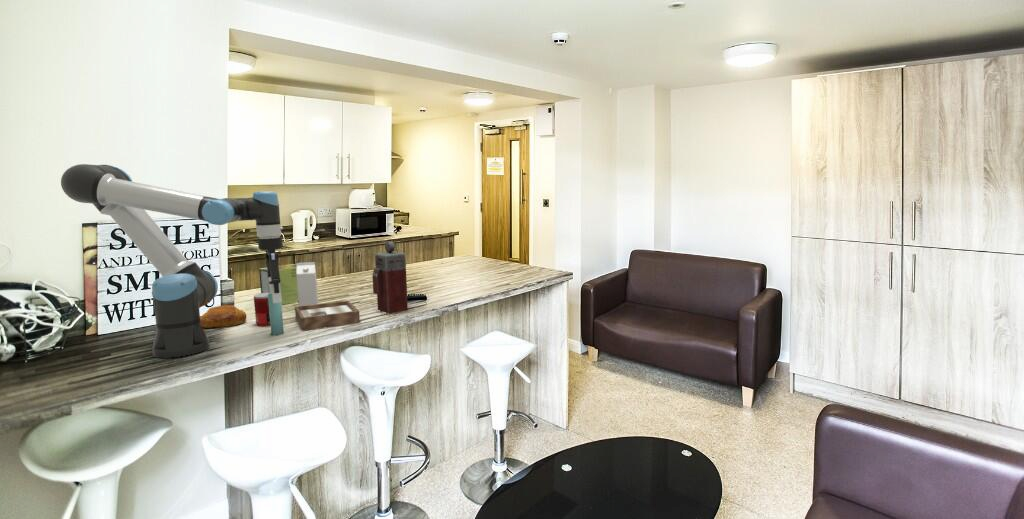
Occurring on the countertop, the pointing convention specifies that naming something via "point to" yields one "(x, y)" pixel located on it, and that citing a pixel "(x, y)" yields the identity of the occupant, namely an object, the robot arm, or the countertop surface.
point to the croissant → (222, 316)
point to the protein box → (282, 282)
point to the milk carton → (307, 284)
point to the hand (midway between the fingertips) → (275, 298)
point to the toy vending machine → (390, 280)
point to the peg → (275, 316)
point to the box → (326, 315)
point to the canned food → (262, 309)
